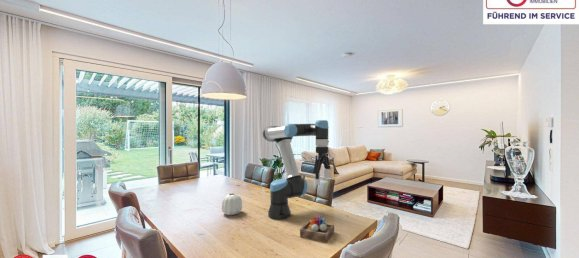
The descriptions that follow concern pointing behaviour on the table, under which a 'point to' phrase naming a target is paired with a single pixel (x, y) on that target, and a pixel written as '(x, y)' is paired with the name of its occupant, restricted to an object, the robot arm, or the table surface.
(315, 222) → the multicoloured small pieces
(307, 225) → the wooden tray
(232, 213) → the vase
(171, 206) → the table surface
